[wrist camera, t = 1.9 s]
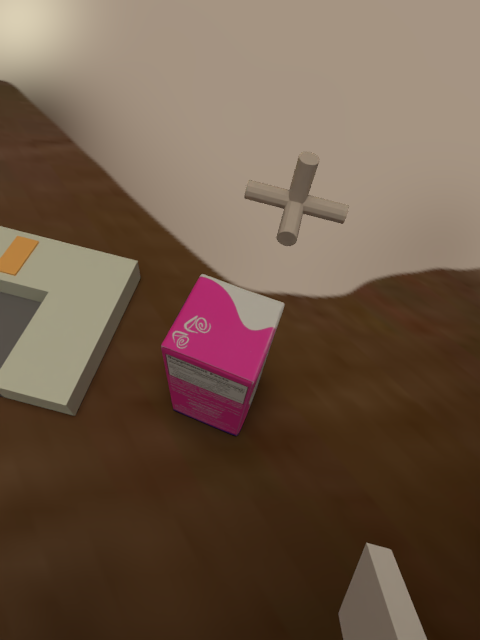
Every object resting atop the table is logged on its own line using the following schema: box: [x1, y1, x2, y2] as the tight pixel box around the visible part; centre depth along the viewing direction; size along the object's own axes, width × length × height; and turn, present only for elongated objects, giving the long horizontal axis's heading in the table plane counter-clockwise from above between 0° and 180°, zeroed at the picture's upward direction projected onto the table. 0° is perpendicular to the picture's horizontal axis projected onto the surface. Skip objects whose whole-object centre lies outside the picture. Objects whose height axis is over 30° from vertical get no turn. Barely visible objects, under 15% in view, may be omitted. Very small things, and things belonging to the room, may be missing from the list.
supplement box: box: [161, 274, 284, 436], centre depth 27 cm, size 6×6×11 cm
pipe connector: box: [245, 152, 349, 246], centre depth 37 cm, size 10×10×10 cm
